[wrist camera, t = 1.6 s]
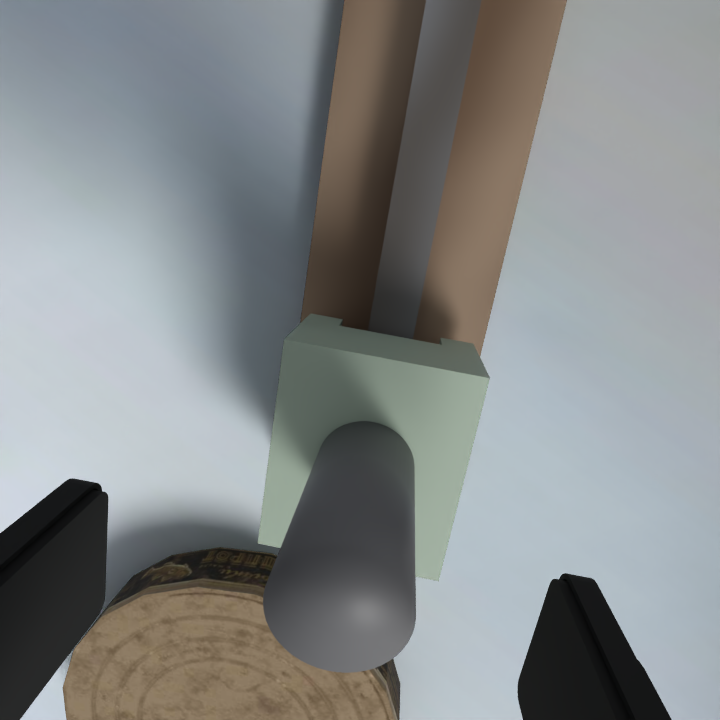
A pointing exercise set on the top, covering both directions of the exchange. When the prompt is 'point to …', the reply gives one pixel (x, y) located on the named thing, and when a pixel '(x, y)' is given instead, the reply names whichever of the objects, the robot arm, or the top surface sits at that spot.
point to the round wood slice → (209, 653)
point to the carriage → (362, 485)
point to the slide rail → (426, 161)
